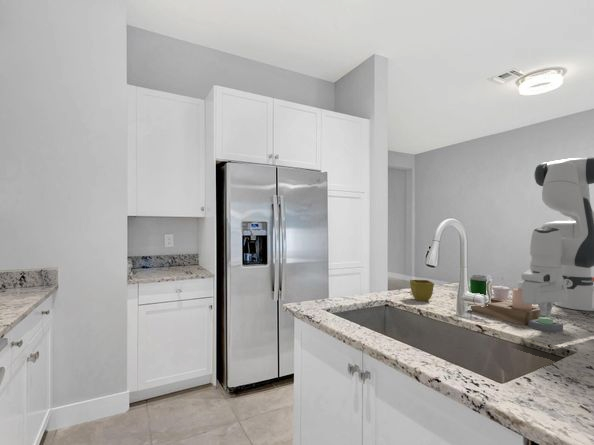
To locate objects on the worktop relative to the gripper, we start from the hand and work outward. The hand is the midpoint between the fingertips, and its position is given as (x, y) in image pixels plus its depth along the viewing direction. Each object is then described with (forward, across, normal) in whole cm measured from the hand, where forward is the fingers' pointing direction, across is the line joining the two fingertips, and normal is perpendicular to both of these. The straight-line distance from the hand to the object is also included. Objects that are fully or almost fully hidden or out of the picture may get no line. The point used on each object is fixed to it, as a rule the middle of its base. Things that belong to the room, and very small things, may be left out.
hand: (545, 315), depth 111 cm
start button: (+5, 0, 0) cm, 5 cm away
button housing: (+6, 0, 0) cm, 6 cm away
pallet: (+5, -4, -16) cm, 17 cm away
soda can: (+6, -22, -40) cm, 46 cm away
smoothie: (+6, -15, -25) cm, 30 cm away
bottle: (+4, -4, -10) cm, 11 cm away
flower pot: (+6, +3, -52) cm, 52 cm away
